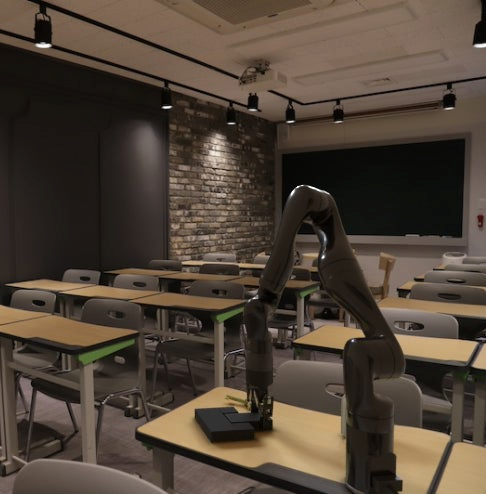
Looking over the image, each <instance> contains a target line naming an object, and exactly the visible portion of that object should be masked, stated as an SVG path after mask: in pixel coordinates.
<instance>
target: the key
mask: <svg viewBox="0 0 486 494" xmlns="http://www.w3.org/2000/svg"><path fill="white" fill-rule="evenodd" d="M224 400H227V401H229V400H231V401H234V402H237V403H240V404H244V406H247V409H248V410H249V411H251V407H250V406H249V402H247V398H245V399H244V398H240V397H237V396H233V395H230V394H226V395H225V397H224ZM260 405H263V403H260ZM262 410H263V408H262Z"/></svg>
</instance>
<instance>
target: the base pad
mask: <svg viewBox="0 0 486 494" xmlns="http://www.w3.org/2000/svg"><path fill="white" fill-rule="evenodd" d="M231 413H240V412H239V410H237V408H235V407H234V406H218V407H217V406H216V407H202V408H201V407H200V408H194V420H195V421H196V422H197V424H198V426H199V428H200V429H201V430H202V432H203V433H204V435H205V436H206V437H207V439H208V440H209V442H210V443H213V444H214V443H225V442H226V443H227V442H241V441H243V442H244V441H255V440H256V439H255V435H256V434H255V433H256V431H255V429H254V428H253V427H252V426H251V425H250V424H249V423H232V424H231V423H230V422H229V421H228V419H227V418H226V417H225V416H224V414H231Z"/></svg>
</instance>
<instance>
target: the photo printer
mask: <svg viewBox="0 0 486 494" xmlns="http://www.w3.org/2000/svg"><path fill="white" fill-rule="evenodd" d="M340 403H341V404H340V434H341V435H342V436H343V437H344V438H346V398H345V394H344V395H343V396H342V397H341V402H340Z"/></svg>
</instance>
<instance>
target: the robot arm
mask: <svg viewBox="0 0 486 494" xmlns="http://www.w3.org/2000/svg"><path fill="white" fill-rule="evenodd" d="M303 223H306V224H309V225H310V226H311V227H312V228H313V231H314V232H315V234H316V237H317V239H318V244H319V248H318V249H319V250H318V253H317V257H316V258H317V259H316V270H317V273H318V277H319V278H320V281H321V283H322V286H323V289H324V292H325V293H326V294H327V295H328V297H329V298H330V299H331V300H332V301H333V302H334V303H335V304H336V305H337V306H339V308H341V310H343V311H344V312H345V313H346V314H348V315H349V317H351V318H352V319H353V320H354V321H355V322H356V324H357V325H358V327H359V328H360V330H361V332H362V333H363V336H360V337H359V336H358V337H352V338H349V339H348V340H347V341H346V342H345V344H344V346H343V349H342V377H343V381H342V383H343V393H344V395H345V398H346V437H345V460H344V461H345V465H344V468H345V469H344V470H345V471H344V472H345V473H344V486H345V488H346V489H347V490H348V491H350V492H351V493H353V494H400V493H401V492H403V489H404V479H402V478H401V477H400V476H398V474H397V454H396V453H395V451H394V449H395V408H396V406H395V402H394V401H393V400H392V398H390V397H388V396H386V395H385V394H382V393H379V392H376V391H375V386H374V382H380V381H381V382H382V381H393V380H398V379H401V378H402V377H403V376H404V374H405V372H406V367H407V362H406V358H405V353H404V351H403V348H402V345H400V342H399V340H398V339H397V336H396V335H395V333H394V332H393V330H392V328H391V326H390V325H389V323H388V321H387V320H386V319H387V318H385V316H384V314H383V312H382V310H381V309H380V307H379V305H378V303H377V301H376V299H375V297H374V295H373V293H372V290H371V288H370V286H369V283H368V282H367V281H368V280H367V279H366V276H365V274H364V271H363V269H362V267H361V265H360V263H359V260H358V259H357V257H356V254H355V252H354V250H353V247H352V245H351V243H350V240H349V238H348V236H347V234H346V232H345V228H344V225H343V223H342V219H341V216H340V213H339V209H338V206H337V204H336V201H335V199H334V197H333V196H332V194H330V193H329V192H327V191H325V190H322V189H319V188H316V187H313V186H310V185H306V184H302V185H297V187H295V188H294V189H292V191H291V192H290V193H289V195H288V197H287V199H286V202H285V205H284V209H283V211H282V215H281V217H280V222H279V224H278V229H277V232H276V236H275V240H274V244H273V247H272V249H271V252H270V255H269V256H268V259H267V261H266V263H265V265H264V268H263V270H262V272H261V274H260V276H259V279H258V284H259V286H258V289H257V292H256V294H255V296H253V297H251V298H249V299H247V300H246V301H245V303H244V305H243V309H242V316H243V323H244V329H245V332H246V352H245V387H246V388H245V391H246V399H247V402H249V406H250V407H251V410H250V412H259V413H260V429H261V430H267V429H268V417H270V418H272V417H273V416H274V415H273V414H274V404H275V403H274V401H275V398H274V396H273V395H270V393H269V387H270V386H272V385H273V384H274V355H273V334H272V332H271V330H269V319H271V318H272V317H273V316H274V314H275V313H276V311H277V309H278V306H279V304H280V300H281V297H282V295H283V291H284V289H285V287H286V285H287V284H288V282H289V279H290V277H291V276H292V274H293V271H294V268H295V263H296V252H295V251H296V250H295V247H296V239H297V234H298V231H299V230H300V228H301V226H302V224H303ZM260 403H263V405H261V404H260ZM262 408H263V409H262Z"/></svg>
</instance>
